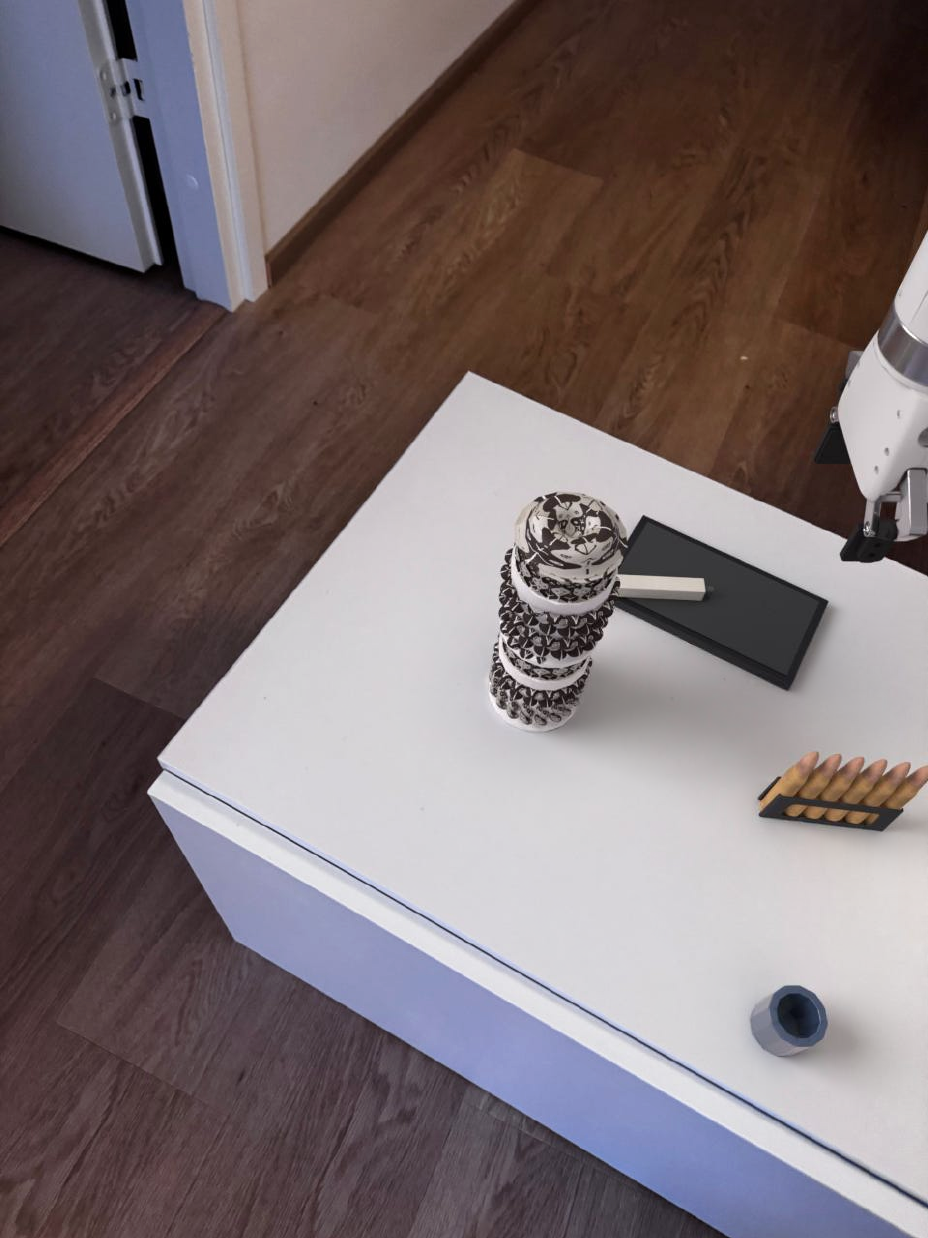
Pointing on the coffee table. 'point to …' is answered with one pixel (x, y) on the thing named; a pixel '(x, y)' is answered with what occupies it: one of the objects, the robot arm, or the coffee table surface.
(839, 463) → the robot arm
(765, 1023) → the holder
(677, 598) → the stylus
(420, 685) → the coffee table surface
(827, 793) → the ammunition clip
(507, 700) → the decorative candle
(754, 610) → the tablet
